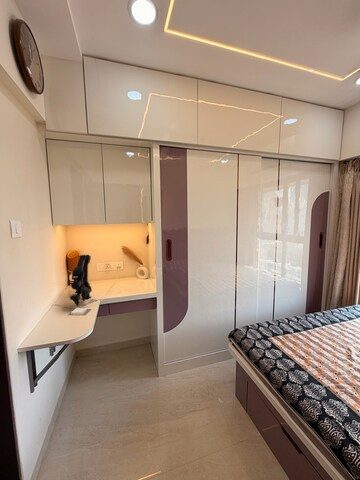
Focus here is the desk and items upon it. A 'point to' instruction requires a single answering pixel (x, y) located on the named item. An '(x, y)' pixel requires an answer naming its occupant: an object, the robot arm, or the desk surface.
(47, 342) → the desk surface
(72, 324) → the desk surface
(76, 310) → the glazed tile
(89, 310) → the rubber mat
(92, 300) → the caliper
